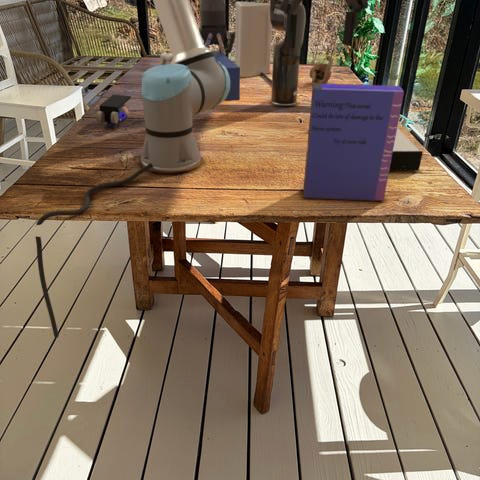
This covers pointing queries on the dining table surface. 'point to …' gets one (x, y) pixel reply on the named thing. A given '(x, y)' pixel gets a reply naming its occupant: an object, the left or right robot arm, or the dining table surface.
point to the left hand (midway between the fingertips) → (319, 46)
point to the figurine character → (113, 110)
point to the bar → (233, 73)
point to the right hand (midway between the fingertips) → (213, 67)
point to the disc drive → (405, 154)
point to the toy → (165, 58)
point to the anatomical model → (321, 71)
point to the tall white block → (253, 38)
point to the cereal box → (351, 141)
